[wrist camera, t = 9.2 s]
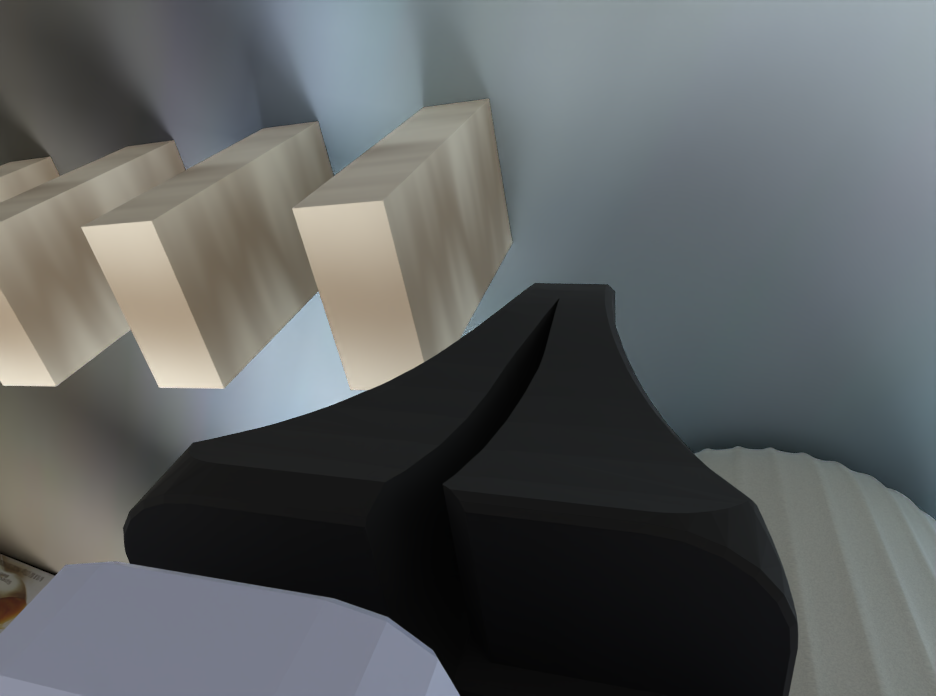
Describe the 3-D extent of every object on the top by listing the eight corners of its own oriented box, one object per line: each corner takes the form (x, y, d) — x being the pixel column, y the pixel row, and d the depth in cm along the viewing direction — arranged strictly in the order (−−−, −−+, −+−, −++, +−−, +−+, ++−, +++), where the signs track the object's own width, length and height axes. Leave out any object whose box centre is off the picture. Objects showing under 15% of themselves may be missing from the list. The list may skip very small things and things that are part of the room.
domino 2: (355, 252, 24) (224, 388, 17) (304, 255, 24) (159, 387, 18) (318, 121, 21) (151, 221, 15) (263, 128, 22) (81, 226, 16)
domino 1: (221, 260, 25) (56, 386, 19) (176, 263, 26) (3, 385, 20) (173, 140, 23) (-30, 236, 17) (126, 146, 24) (-87, 240, 18)
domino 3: (512, 243, 22) (431, 390, 15) (452, 246, 22) (350, 389, 16) (488, 98, 20) (382, 200, 13) (423, 107, 20) (292, 208, 14)
